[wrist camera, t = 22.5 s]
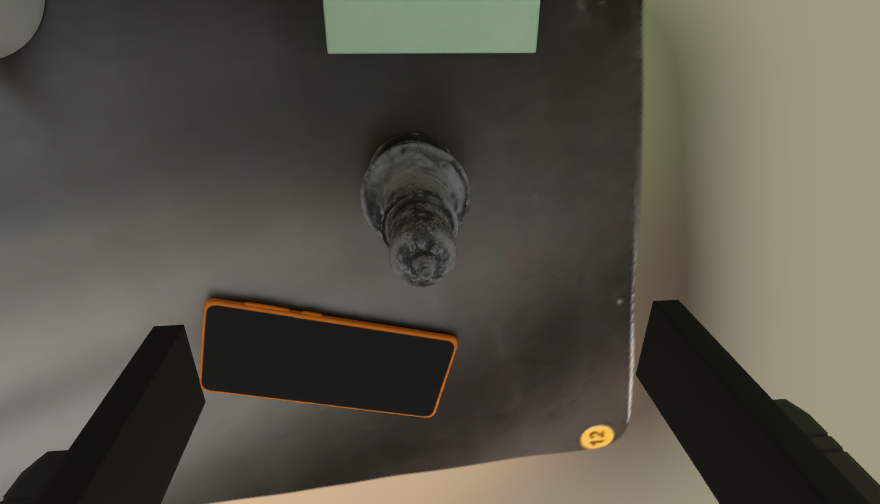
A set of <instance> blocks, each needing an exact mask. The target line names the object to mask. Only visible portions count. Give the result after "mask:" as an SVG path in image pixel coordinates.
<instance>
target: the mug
mask: <svg viewBox="0 0 880 504" xmlns="http://www.w3.org/2000/svg"><path fill="white" fill-rule="evenodd" d="M44 6H45V0H0V58H3V57H6V56H8V55H10V54H12V53H14V52H16V51H17V50H19V49H20V48H21V47H23V46H24V45H25V44H26V43H27V42H28V41H29V40H30V39H31V38H32V37H33V35H34V34H35V32H36V31H37V29H38V27H39V24H40V22H41V20H42V16H43V12H44Z"/></svg>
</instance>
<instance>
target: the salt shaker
mask: <svg viewBox="0 0 880 504" xmlns="http://www.w3.org/2000/svg"><path fill="white" fill-rule="evenodd" d="M470 198H471V192H470V185H469V180H468V178H467V176H466V173H465V171H464V169H463V167H462V166H461V165H460V164H459V163H458V161H457V160H456V159H455V158H454V157H453V156H452V154H451V152H450V151H449V150H448V149H447V148H446V146H445V145H444V144H443V143H441V142H440V141H438V140H437V139H436V138H434V137H431V136H429V135H426V134H423V133H412V132H410V133H405V134H399V135H397V136H395V137H393V138H390V139H388V140H387V141H386V142H385V143H383V144H382V145H381V146H380V147H379V148H378V149H377V151H376V152H375V154H374V155H373V157H372V160H371V163H370V166H369V168H368V170H367V171H366V173H365V175H364V178H363V181H362V184H361V187H360V203H361V207H362V211H363V215H364V217H365V219H366V220H367V222H368V224H369V226H370V227H371V228H372V229H373V230H374V231H375V232H376V233H377V234H378V235H379V236H380V237H382V238H383V240H384V242H385V244H386V246H387V247H388V248H389V258H390V262H391V266H392V268H393V269H394V271H395V273H396V275H397V276H398V277H399V278H400V279H401V280H403V281H404V282H406V283H408V284H410V285H414V286H422V287H425V286H431V285H434V284H436V283H439V282H441V281H442V280H443V279H445V278H446V277H447V276H448V275H449V273H450V272H451V271H452V269H453V267H454V265H455V261H456V255H457V250H456V244H455V238H456V235H457V229H458V228H459V226H460V225H461V224H462V222H463V221H464V219H465V217H466V214H467V212H468V210H469V206H470Z"/></svg>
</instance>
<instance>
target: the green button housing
mask: <svg viewBox="0 0 880 504" xmlns="http://www.w3.org/2000/svg"><path fill="white" fill-rule="evenodd" d="M323 9H324V20H325V31H326V42H327V52H328V53H329V54H399V53H535V52H536V45H537V34H538V22H539V10H540V0H323Z"/></svg>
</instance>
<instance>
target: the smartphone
mask: <svg viewBox="0 0 880 504" xmlns="http://www.w3.org/2000/svg"><path fill="white" fill-rule="evenodd" d="M457 346H458V341H457V339H456V338H455V337H454V336H452V335H448V334H441V333H435V332H428V331H422V330H416V329H409V328H403V327H396V326H390V325H384V324H377V323H371V322H364V321H358V320H352V319H345V318H339V317H332V316H326V315H322V314H321V313H315V312H309V311H303V312H300V311H294V310H289V308H284V307H277V306H271V305H264V304H258V303H252V302H245V303H243V302H236V301H230V300H223V299H217V298H212V299H210V300H208V301H207V302H206V303H205V304H204V311H203V326H202V342H201V357H200V373H199V381H200V384H201V388H202V389H203V390H205V391H211V392H219V393H227V394H235V395H244V396H252V397H260V398H268V399H277V400H285V401H293V402H301V403H310V404H318V405H326V406H334V407H342V408H351V409H359V410H367V411H375V412H384V413H392V414H400V415H408V416H417V417H425V418H427V417H431V416H433V415H434V414H435V412H436V409H437V406H438V403H439V400H440V397H441V394H442V391H443V388H444V385H445V382H446V379H447V376H448V373H449V370H450V367H451V364H452V361H453V358H454V355H455V352H456V349H457Z"/></svg>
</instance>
